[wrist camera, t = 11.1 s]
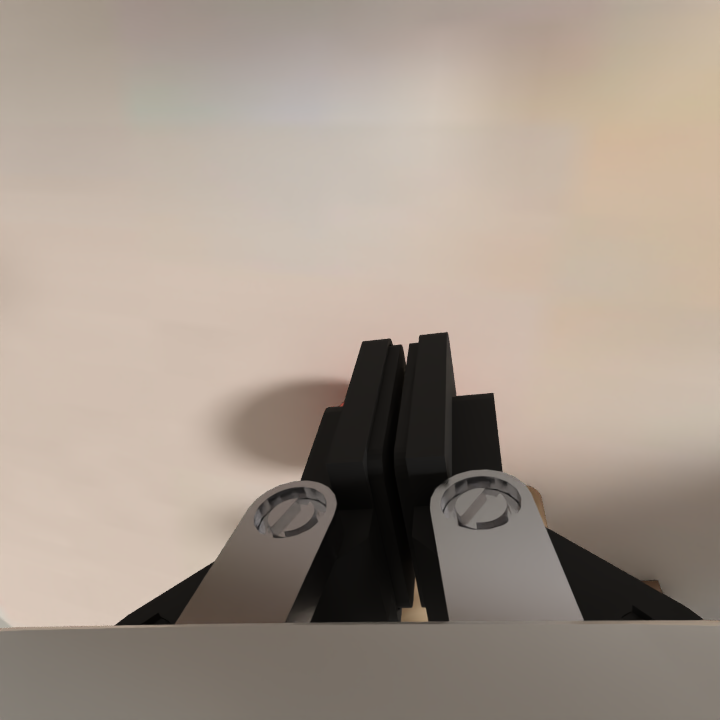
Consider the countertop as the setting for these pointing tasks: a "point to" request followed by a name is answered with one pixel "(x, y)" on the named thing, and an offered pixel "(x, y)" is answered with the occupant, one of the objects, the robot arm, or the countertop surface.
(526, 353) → the countertop surface
